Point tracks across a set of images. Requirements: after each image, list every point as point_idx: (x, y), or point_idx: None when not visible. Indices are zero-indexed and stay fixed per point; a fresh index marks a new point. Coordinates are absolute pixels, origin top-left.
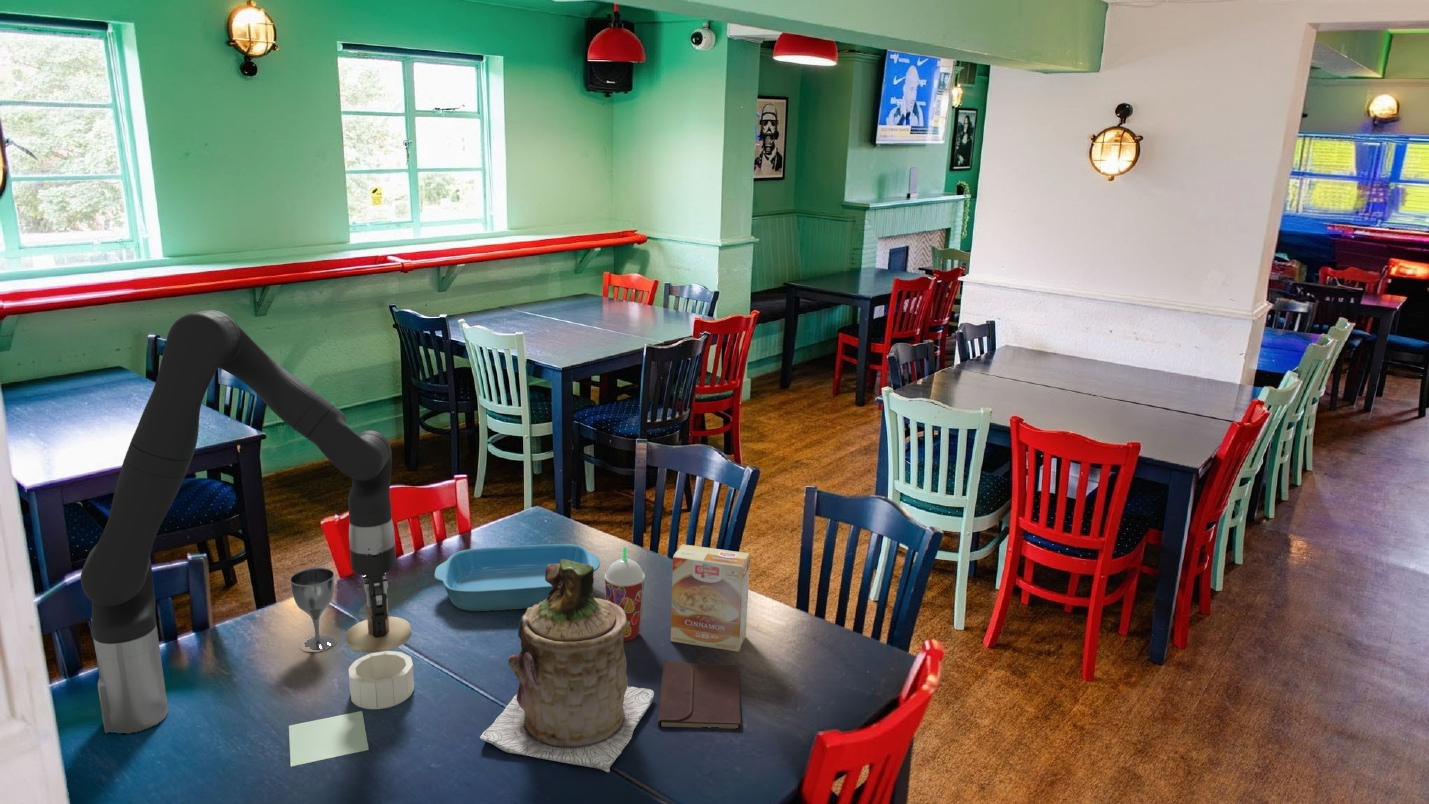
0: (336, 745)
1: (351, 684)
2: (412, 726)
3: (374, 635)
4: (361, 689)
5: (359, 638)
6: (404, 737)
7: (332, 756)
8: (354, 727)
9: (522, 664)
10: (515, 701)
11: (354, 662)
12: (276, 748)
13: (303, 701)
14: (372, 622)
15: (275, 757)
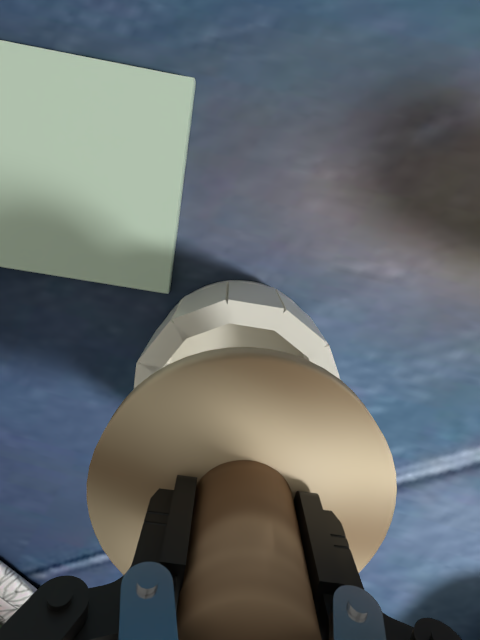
0: (22, 187)
1: (220, 295)
2: (57, 384)
3: (175, 483)
4: (172, 315)
5: (216, 411)
6: (17, 355)
7: None
8: (93, 254)
9: None
10: (24, 600)
11: (316, 336)
12: (112, 22)
13: (330, 158)
14: (164, 543)
15: (64, 8)
